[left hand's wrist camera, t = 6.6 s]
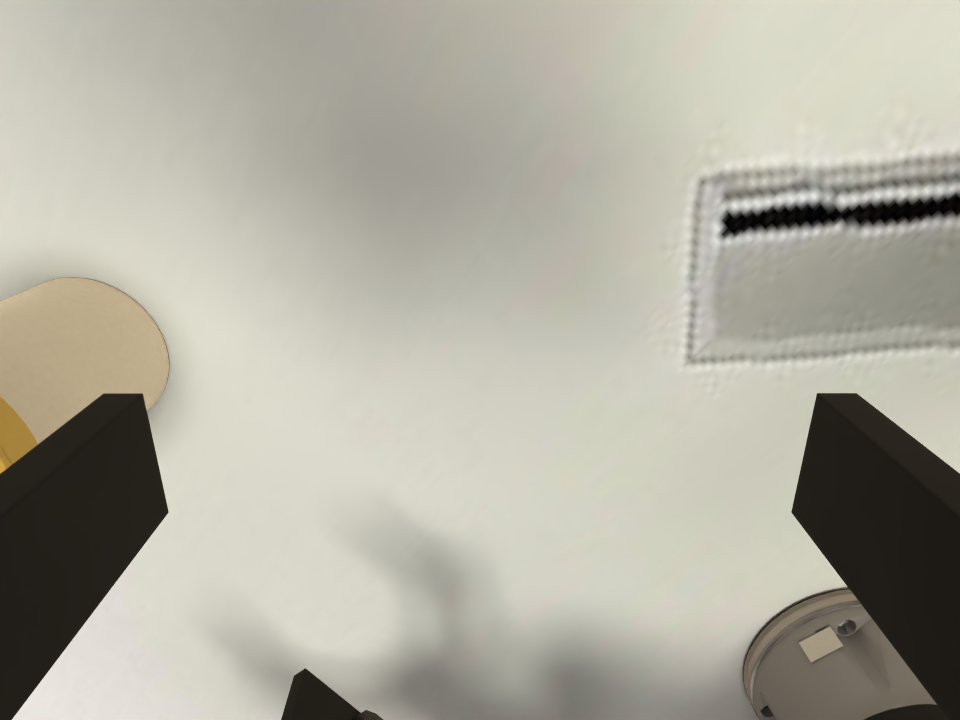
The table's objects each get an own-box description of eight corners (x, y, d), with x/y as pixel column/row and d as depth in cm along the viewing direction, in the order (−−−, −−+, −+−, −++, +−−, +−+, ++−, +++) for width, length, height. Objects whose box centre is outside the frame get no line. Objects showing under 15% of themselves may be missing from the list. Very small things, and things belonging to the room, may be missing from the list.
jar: (-20, 350, 41) (-282, 481, 27) (66, 243, 39) (-172, 327, 25) (111, 448, 44) (-64, 615, 30) (201, 355, 42) (55, 488, 27)
